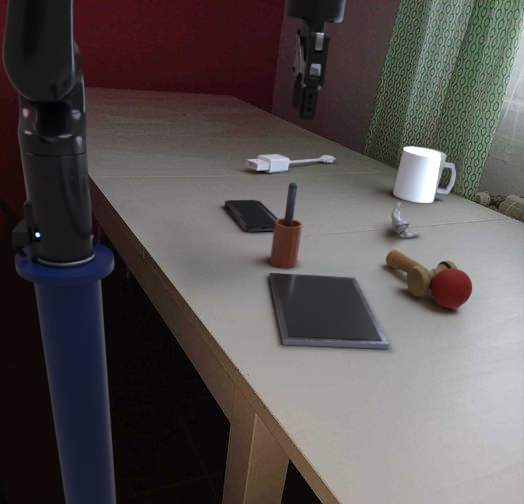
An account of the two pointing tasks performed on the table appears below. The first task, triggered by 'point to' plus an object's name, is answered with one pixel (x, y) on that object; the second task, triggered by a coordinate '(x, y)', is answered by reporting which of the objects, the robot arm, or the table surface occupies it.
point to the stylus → (290, 205)
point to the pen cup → (285, 244)
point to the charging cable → (280, 162)
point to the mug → (421, 174)
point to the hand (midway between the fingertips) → (302, 113)
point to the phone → (251, 215)
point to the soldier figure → (400, 223)
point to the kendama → (434, 280)
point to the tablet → (324, 312)
